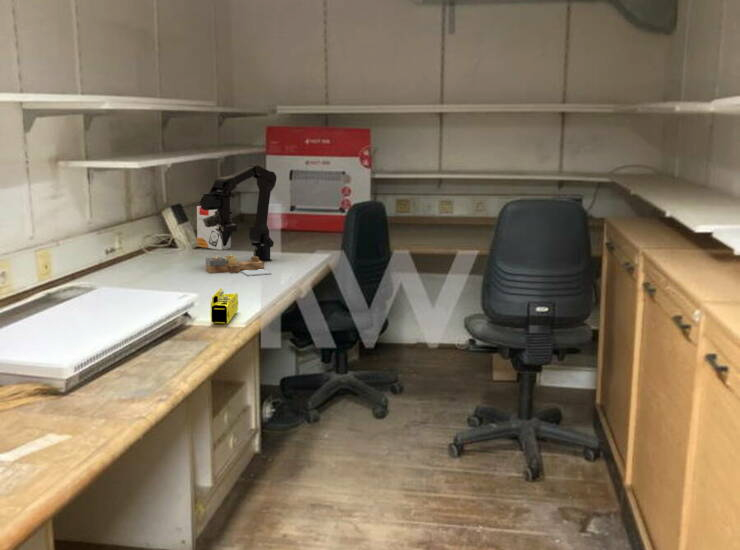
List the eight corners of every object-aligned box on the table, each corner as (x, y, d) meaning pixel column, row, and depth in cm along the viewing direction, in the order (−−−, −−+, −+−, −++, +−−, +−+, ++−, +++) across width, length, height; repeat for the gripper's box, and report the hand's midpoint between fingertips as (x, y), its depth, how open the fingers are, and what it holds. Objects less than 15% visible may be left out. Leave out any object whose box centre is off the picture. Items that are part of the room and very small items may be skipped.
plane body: (256, 265, 299) (256, 254, 298) (267, 270, 288) (267, 259, 287) (203, 269, 287) (203, 257, 286) (212, 274, 277) (212, 262, 276)
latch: (233, 261, 289) (232, 254, 289) (236, 263, 285) (236, 256, 284) (224, 262, 288) (224, 254, 287) (228, 264, 283) (228, 256, 283)
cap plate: (221, 262, 288) (221, 255, 287) (226, 265, 282) (226, 258, 282) (205, 263, 284) (205, 256, 284) (210, 266, 279) (210, 259, 278)
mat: (264, 270, 288) (264, 269, 288) (271, 274, 281) (271, 273, 281) (241, 272, 283) (241, 271, 283) (247, 276, 277) (247, 274, 276)
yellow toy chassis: (221, 312, 222) (220, 286, 220) (238, 312, 222) (238, 287, 220) (209, 325, 206) (208, 298, 204) (228, 326, 206) (228, 298, 204)
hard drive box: (196, 246, 342) (195, 206, 338) (206, 245, 348) (206, 205, 344) (221, 250, 335) (221, 208, 331) (231, 248, 341) (231, 207, 337)
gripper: (198, 206, 293) (199, 243, 297) (211, 211, 277) (212, 250, 281) (224, 206, 299) (224, 242, 302) (238, 211, 283) (238, 249, 286)
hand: (224, 245), depth 292 cm, fingers closed
